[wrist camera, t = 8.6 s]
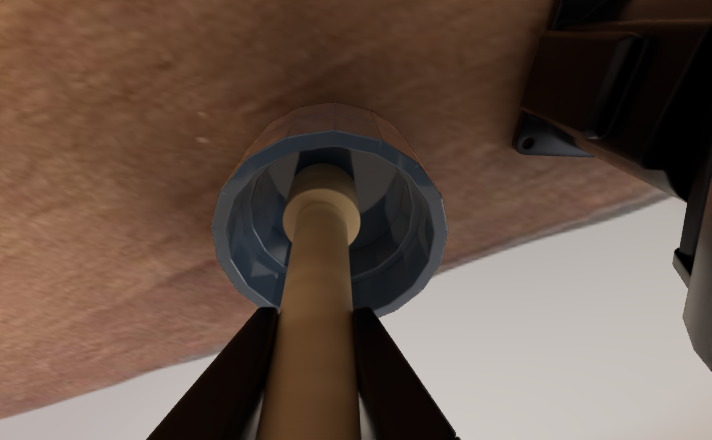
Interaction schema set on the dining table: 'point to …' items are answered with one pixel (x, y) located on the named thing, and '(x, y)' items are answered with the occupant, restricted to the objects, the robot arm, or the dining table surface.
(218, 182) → the dining table surface
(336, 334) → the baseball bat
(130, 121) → the dining table surface
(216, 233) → the bowl
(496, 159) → the dining table surface
